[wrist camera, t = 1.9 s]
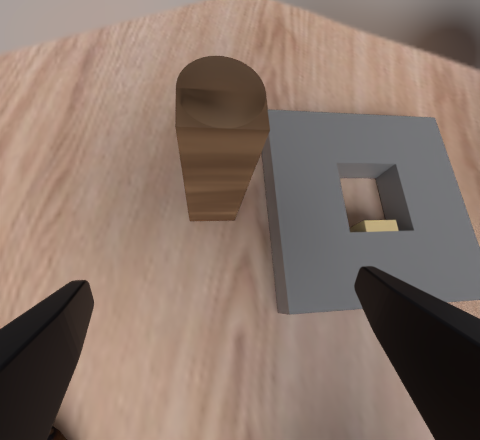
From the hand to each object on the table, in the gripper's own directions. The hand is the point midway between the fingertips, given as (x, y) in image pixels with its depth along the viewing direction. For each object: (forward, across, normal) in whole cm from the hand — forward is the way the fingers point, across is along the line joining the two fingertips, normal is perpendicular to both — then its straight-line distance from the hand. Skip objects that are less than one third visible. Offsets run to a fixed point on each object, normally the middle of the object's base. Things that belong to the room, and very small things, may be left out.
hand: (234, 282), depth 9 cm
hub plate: (+15, -14, +4) cm, 21 cm away
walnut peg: (+15, 0, +4) cm, 16 cm away
